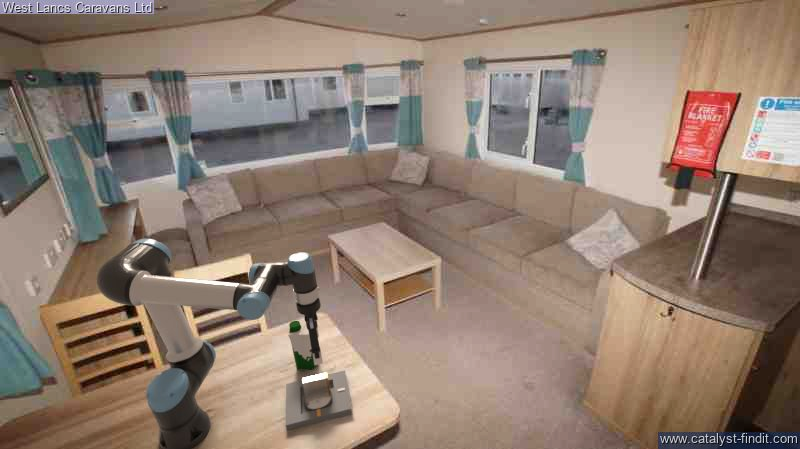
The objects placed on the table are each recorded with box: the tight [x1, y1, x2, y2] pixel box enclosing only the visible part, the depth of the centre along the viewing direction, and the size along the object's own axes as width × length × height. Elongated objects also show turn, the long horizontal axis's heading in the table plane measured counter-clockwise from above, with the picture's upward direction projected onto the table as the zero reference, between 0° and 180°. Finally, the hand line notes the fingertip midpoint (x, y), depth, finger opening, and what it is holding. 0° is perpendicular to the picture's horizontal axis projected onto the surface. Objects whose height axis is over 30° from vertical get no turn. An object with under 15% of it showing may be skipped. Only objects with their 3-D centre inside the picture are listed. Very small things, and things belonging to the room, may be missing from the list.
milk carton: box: [287, 320, 317, 371], centre depth 150 cm, size 9×9×20 cm
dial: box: [301, 371, 332, 411], centre depth 134 cm, size 10×10×10 cm
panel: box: [285, 370, 353, 431], centre depth 136 cm, size 22×18×3 cm
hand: (316, 349), depth 131 cm, fingers open, 13 cm apart
